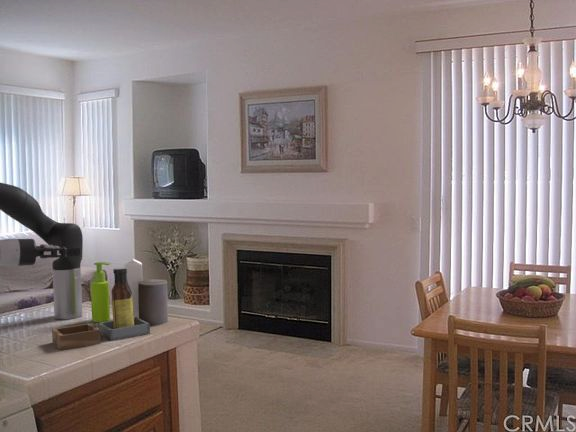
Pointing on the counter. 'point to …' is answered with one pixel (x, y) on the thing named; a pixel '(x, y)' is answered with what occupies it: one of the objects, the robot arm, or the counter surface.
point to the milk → (134, 281)
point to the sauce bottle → (122, 300)
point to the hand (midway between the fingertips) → (75, 250)
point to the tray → (124, 329)
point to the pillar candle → (153, 301)
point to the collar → (75, 336)
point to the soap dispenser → (100, 295)
